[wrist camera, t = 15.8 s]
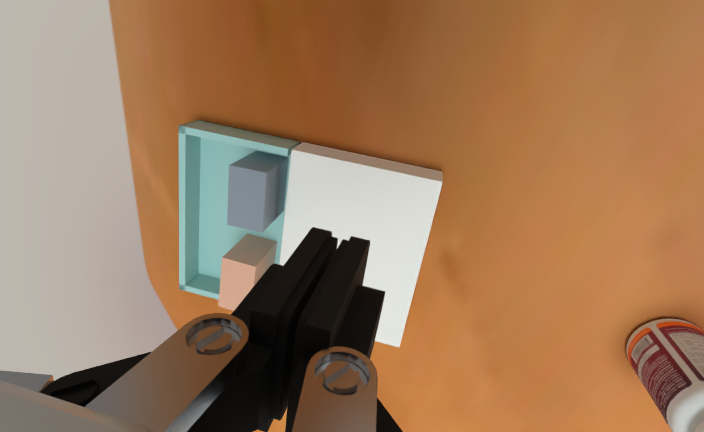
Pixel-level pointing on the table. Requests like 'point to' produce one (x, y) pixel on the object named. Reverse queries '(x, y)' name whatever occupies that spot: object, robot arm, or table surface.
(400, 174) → the white flat block
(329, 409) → the robot arm
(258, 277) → the salmon pink box
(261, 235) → the tray
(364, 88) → the table surface
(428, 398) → the table surface
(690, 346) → the pill bottle
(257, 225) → the grey block
